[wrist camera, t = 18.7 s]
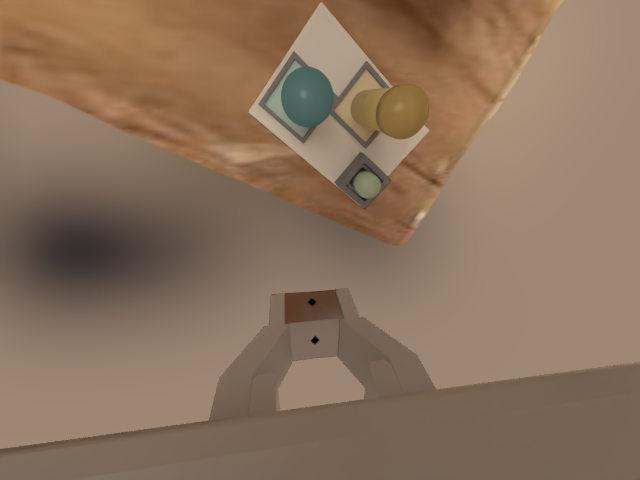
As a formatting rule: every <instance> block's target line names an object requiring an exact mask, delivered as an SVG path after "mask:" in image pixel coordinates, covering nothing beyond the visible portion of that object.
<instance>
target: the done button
mask: <svg viewBox="0 0 640 480" xmlns="http://www.w3.org/2000/svg"><path fill="white" fill-rule="evenodd" d="M350 184H351V186H352V187H353V188H354V190H355V191H356V192H357V193H358V194H359V195H360V196H361V197H363V198H366V199H370V198H373V197H375V196H376V195H377V194H378V193H379V191H380V189H381V182H380V179H379V178H378V177H377V176H375V175H374V174H372V173H371V172H369V171H368V170H366V169H363V168H361V169H360V170H359V171H358V172H357V173H356V174H355V176H354V177H353V178H352V179H351V180H350Z"/></svg>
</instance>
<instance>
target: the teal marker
mask: <svg viewBox="0 0 640 480" xmlns="http://www.w3.org/2000/svg"><path fill="white" fill-rule="evenodd" d="M333 100H334V95H333V89H332V86H331V83H330V81H329V80H328V78H327V77H326V76H325V75H324V74H323V73H322V72H321V71H319V70H318V69H316V68H313V67H300V68H298V69H296V70H294V71H293V72H291V73H290V74H289V75H288V76H287V78H286V79H285V81H284V83H283V86H282V90H281V102H282V106H283V109H284V111H285V113H286V115H287V116H288V118H289V119H290V120H291V121H292V122H294V123H295V124H297V125H299V126H302V127H314V126H317V125H319V124H321V123H322V122H323V121H324V120H326V118H327V117H328V116H329V114H330V112H331V110H332V107H333Z"/></svg>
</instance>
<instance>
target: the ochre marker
mask: <svg viewBox="0 0 640 480" xmlns="http://www.w3.org/2000/svg"><path fill="white" fill-rule="evenodd" d="M428 113H429V101H428V98H427V95H426V94H425V92H424V91H423V90H422V89H421V88H420V87H418V86H416V85H411V84H407V85H398V86H395V87H390V88H380V89H369V90H363V91H361V92H359V93H358V94H357V95H356V96H355V97H354V98H353V100H352V103H351V115H352V117H353V119H354V120H355V121H356V122H357V123H358V124H361V125H363V126H366V127H369V128H371V129H374V130H377V131H379V132H382V133H384V134H385V135H387V136H389V137H392V138H394V139H400V140H401V139H407V138H410V137H412V136H414V135H415V134H416V133H418V132H419V131H420V130H421V128H422V127H423V126H424V124H425V122H426V120H427V117H428Z"/></svg>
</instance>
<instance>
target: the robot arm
mask: <svg viewBox="0 0 640 480" xmlns="http://www.w3.org/2000/svg"><path fill="white" fill-rule="evenodd" d="M335 356H338V358H339V359H340V360H341V361H342V362H343V364H344V365H345V366H346V367H347V368H348V369H349V370H350V371H351V373H353V375H354V376H355V377H356V378H357V379H358V381H359V382H360V383H361V384H362V385H363V386H364V387H365V395H364V400H356V401H349V402H342V403H334V404H327V405H320V406H312V407H305V408H298V409H291V410H283V411H280V405H279V396H278V388H279V386H280V384H281V382H282V380H283V379H284V377H285V375H286V373H287V371H288V369H289V368H290V366H291V364H292V361H298V360H306V359H312V358H323V357H335ZM0 480H640V362H634V363H627V364H620V365H613V366H605V367H598V368H591V369H583V370H576V371H568V372H561V373H554V374H546V375H539V376H532V377H525V378H517V379H510V380H502V381H495V382H488V383H481V384H473V385H466V386H458V387H451V388H444V389H436V388H435V387H434V385H433V383H432V381H431V379H430V377H429V375H428V374H427V372H426V370H425V368H424V367H423V365H422V363H421V361H420V359H419V358H418V356H417V355H416V354H415V353H414V352H412V351H411V350H409V349H408V348H407V347H405V346H404V345H402V344H401V343H399V342H398V341H397V340H395V339H394V338H392V337H391V336H390V335H388V334H387V333H385V332H384V331H383V330H381V329H380V328H378V327H377V326H375V325H374V324H373V323H371V322H370V321H368V320H367V319H366V318H364V317H359V315H358V312H357V310H356V307H355V304H354V302H353V299H352V297H351V294H350V292H349V289H348V288H344V289H335V290H327V291H315V292H299V293H285V294H272V295H271V298H270V313H269V326H264V327H263V329H262V330H261V331H260V332H259V333H258V334H257V335H256V337H255V338H254V339H253V340H252V341H251V342H250V343H249V344H248V346H247V347H246V348H245V349H244V350H243V351H242V352H241V354H240V355H239V356H238V357H237V358H236V359H235V360H234V362H233V363H232V364H231V365H230V366H229V367H228V368H227V370H226V371H225V372H224V373H223V374H222V375H221V376H220V378H219V381H218V385H217V389H216V394H215V397H214V402H213V406H212V410H211V414H210V418H209V421H202V422H195V423H187V424H181V425H173V426H165V427H158V428H151V429H143V430H136V431H129V432H121V433H114V434H107V435H100V436H93V437H85V438H78V439H70V440H63V441H55V442H48V443H41V444H34V445H26V446H19V447H12V448H4V449H0Z"/></svg>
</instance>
